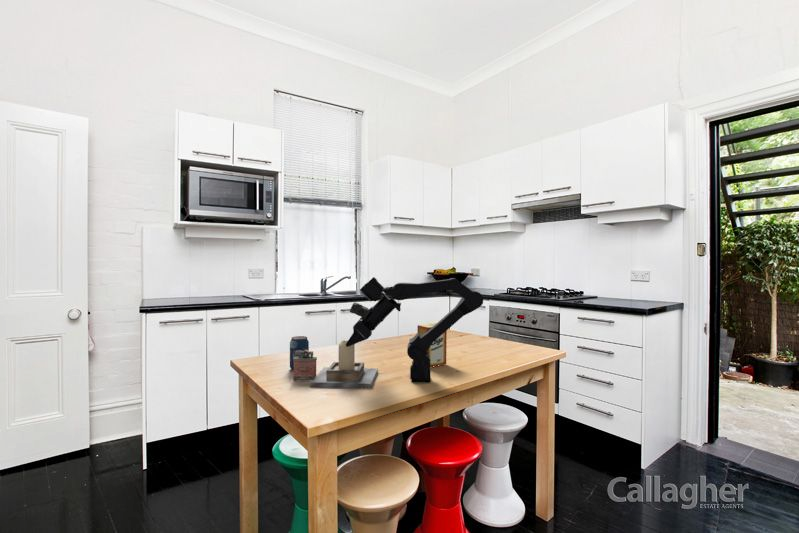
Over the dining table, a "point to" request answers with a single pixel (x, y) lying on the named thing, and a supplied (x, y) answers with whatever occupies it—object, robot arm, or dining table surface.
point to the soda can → (297, 347)
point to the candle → (346, 356)
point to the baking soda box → (435, 346)
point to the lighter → (304, 365)
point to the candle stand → (345, 377)
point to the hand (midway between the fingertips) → (348, 343)
